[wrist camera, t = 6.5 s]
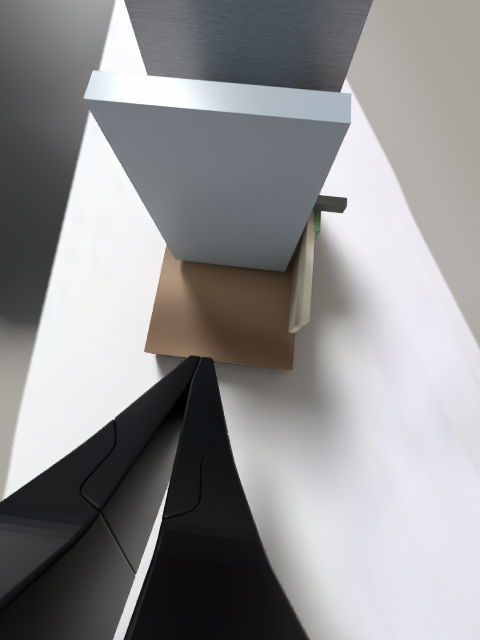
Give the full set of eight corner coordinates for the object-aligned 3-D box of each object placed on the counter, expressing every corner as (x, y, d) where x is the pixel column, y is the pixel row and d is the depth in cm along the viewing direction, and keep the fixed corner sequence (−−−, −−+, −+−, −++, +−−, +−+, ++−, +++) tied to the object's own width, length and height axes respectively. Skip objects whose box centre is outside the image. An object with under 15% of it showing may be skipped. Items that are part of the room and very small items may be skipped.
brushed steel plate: (304, 192, 17) (386, -37, 7) (180, 179, 17) (106, -57, 8) (306, 169, 17) (384, -75, 8) (184, 157, 17) (120, -93, 8)
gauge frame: (290, 370, 15) (312, 369, 11) (153, 353, 16) (116, 346, 11) (304, 185, 18) (325, 123, 14) (189, 173, 19) (172, 108, 14)
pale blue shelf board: (320, 277, 15) (441, 132, 6) (176, 261, 15) (83, 98, 6) (322, 222, 16) (432, 22, 7) (187, 207, 16) (118, -3, 7)
